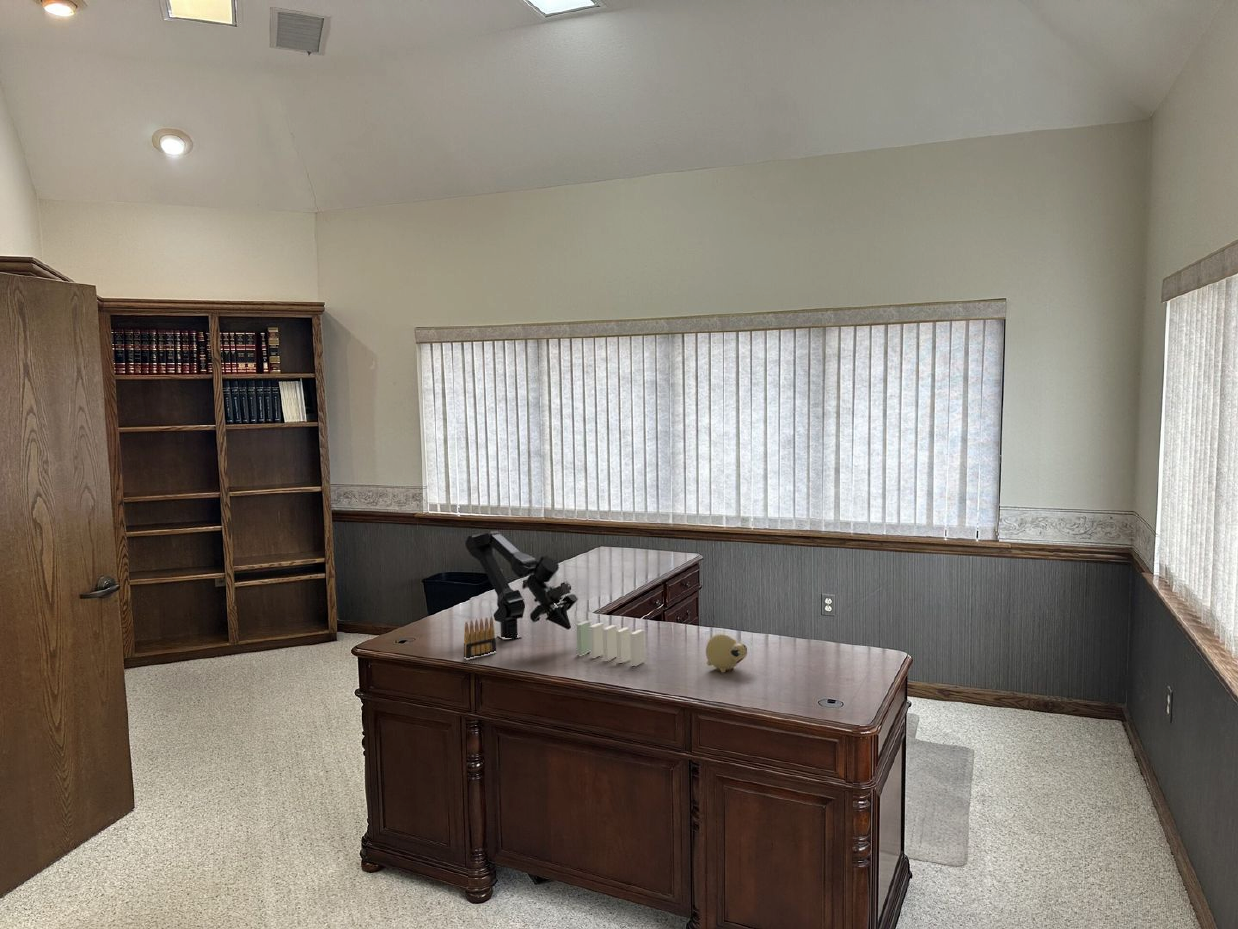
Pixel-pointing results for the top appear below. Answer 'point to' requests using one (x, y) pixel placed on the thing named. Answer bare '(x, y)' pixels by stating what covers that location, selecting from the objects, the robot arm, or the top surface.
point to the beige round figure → (724, 652)
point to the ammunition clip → (479, 639)
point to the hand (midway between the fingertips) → (569, 628)
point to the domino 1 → (583, 637)
